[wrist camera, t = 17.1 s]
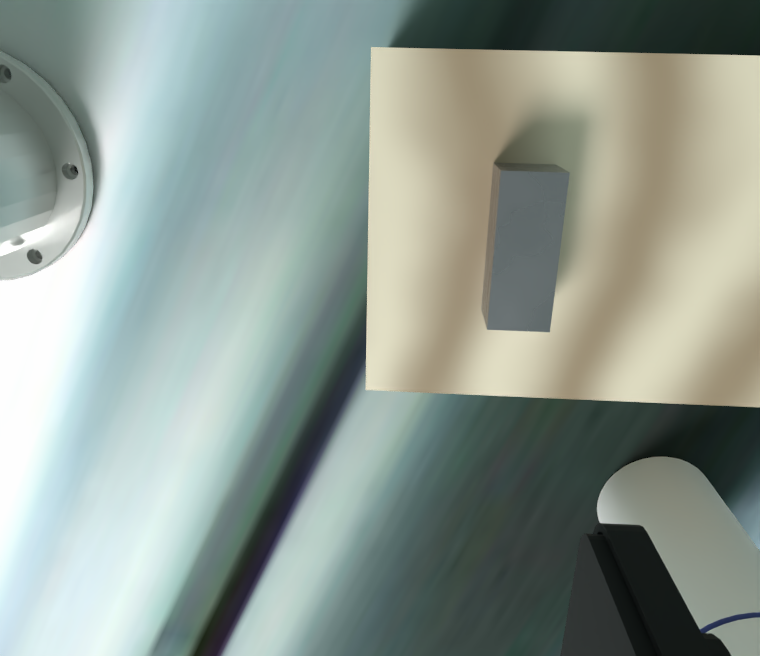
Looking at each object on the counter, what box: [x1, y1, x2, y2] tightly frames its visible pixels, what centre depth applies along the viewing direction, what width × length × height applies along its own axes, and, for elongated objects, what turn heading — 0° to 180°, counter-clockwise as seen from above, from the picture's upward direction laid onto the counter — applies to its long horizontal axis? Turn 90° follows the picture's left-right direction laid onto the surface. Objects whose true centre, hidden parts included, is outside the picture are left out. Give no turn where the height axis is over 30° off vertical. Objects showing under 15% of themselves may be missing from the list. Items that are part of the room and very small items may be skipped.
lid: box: [366, 47, 760, 407], centre depth 25 cm, size 20×14×4 cm
